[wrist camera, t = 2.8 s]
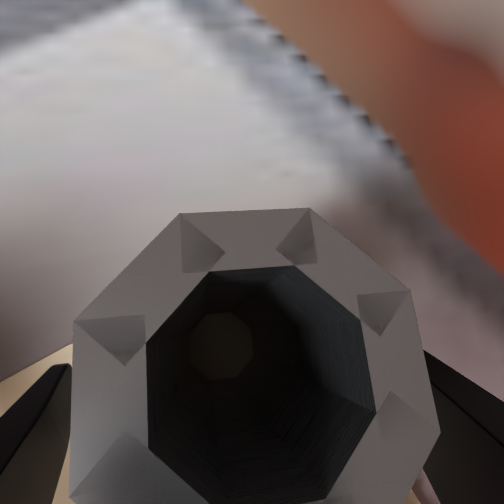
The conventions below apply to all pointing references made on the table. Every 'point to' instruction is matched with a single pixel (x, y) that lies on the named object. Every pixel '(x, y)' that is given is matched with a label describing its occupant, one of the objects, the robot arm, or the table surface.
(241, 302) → the grey octagonal tube
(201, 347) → the gear board
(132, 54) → the table surface
